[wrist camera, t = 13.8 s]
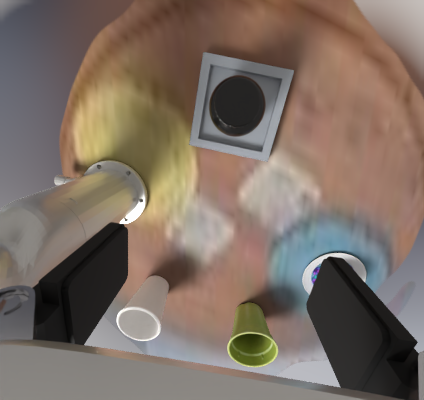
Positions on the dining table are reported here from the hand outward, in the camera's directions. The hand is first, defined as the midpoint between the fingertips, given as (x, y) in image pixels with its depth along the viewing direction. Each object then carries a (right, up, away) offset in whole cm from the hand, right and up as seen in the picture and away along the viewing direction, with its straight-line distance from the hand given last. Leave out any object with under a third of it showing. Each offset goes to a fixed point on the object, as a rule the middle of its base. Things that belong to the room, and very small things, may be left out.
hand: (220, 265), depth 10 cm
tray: (+4, +17, +23) cm, 29 cm away
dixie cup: (-13, -16, +38) cm, 43 cm away
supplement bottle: (+3, +17, +23) cm, 29 cm away
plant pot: (+8, -22, +38) cm, 44 cm away
